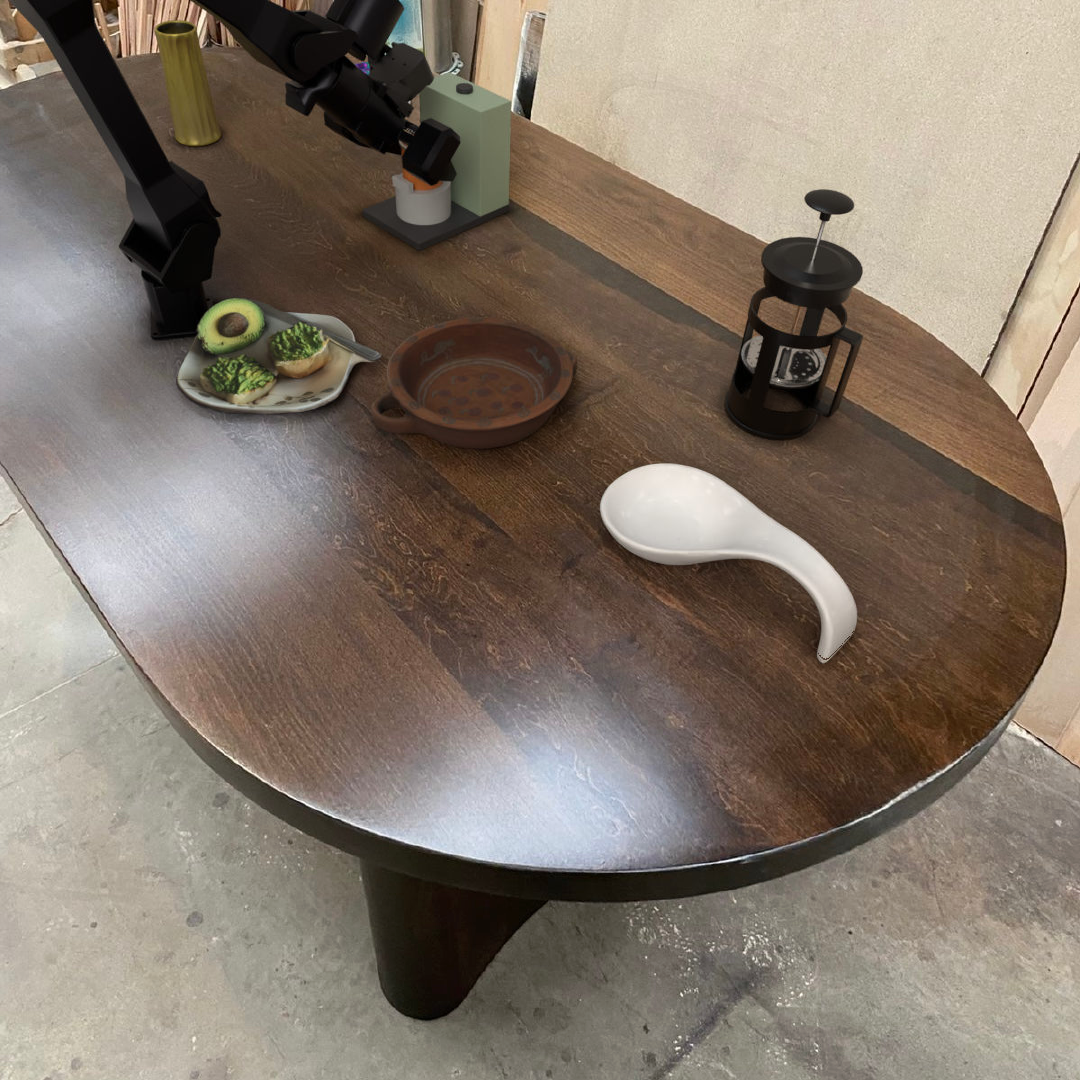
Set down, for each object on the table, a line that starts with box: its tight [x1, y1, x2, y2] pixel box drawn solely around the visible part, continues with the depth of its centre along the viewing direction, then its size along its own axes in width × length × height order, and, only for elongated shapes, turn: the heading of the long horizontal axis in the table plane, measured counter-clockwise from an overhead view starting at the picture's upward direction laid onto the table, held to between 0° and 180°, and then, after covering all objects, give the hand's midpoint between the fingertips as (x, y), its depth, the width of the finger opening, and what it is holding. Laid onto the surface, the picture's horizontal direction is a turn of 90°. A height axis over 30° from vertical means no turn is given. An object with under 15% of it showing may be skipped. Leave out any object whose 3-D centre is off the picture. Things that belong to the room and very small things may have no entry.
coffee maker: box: [361, 72, 512, 252], centre depth 117 cm, size 15×11×15 cm
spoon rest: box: [599, 462, 858, 664], centre depth 80 cm, size 24×12×7 cm, turn 48°
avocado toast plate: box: [175, 297, 382, 415], centre depth 97 cm, size 19×18×5 cm
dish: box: [370, 316, 578, 450], centre depth 94 cm, size 18×22×5 cm
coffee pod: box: [399, 132, 442, 191], centre depth 116 cm, size 5×5×5 cm
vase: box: [153, 19, 222, 147], centre depth 129 cm, size 6×6×14 cm
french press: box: [723, 188, 864, 441], centre depth 89 cm, size 12×9×23 cm
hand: (430, 164), depth 117 cm, fingers open, 8 cm apart
